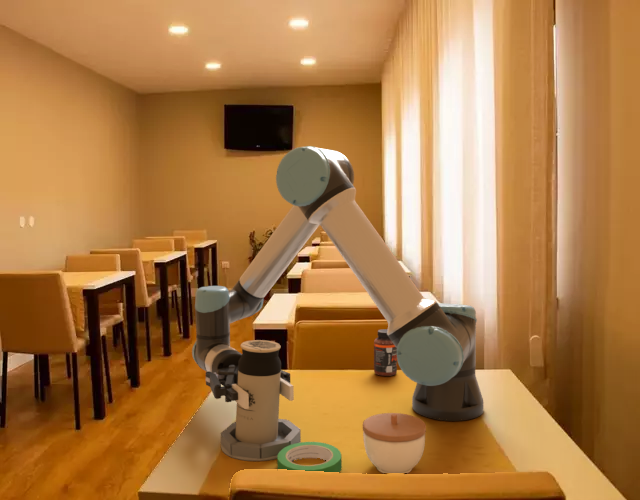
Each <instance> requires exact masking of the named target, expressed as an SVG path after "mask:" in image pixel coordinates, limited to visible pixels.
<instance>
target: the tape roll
mask: <svg viewBox="0 0 640 500" xmlns="http://www.w3.org/2000/svg"><path fill="white" fill-rule="evenodd" d="M302 458H304V459H317V458H320V459H319V460H322V459H323V460H322V461H324V462H322V463H316V464H312V465H310V464H309V465H304V464H298V463H295V461H294V460H296V461H298V460H297V459H299V460H303V459H302ZM276 460H277V463H276V464H277V470H278V469H287V470H305V471H324V472H340V471H342V469H343V468H342V462H343V461H342V460H343V459H342V452H341V451H340V449H339V448H337V447H335V446H334V445H332V444H328V443H324V442H319V441H304V442H303V441H302V442H301V443H296V444H292V445H289V446H287V447H285V448H283V449H282V450H281V451H280V452H279V453H278V456H277V459H276ZM325 460H326V461H325ZM293 461H294V462H293ZM341 468H342V469H341ZM340 473H341V472H340Z"/></svg>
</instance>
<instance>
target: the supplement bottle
mask: <svg viewBox="0 0 640 500" xmlns="http://www.w3.org/2000/svg"><path fill="white" fill-rule="evenodd" d="M387 331H388V328H387V329H378V330H377V337H376V338H375V339H374V341H373V371H374V374H375V375H377V376H381V377H390V376H392V377H393V376H395V375H396V374H397V372H398V371H397V370H398V360H397V348H396V347H395V345H394V344H393V342H392V341H391V339H390V338H389V337H388V335H387Z"/></svg>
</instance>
